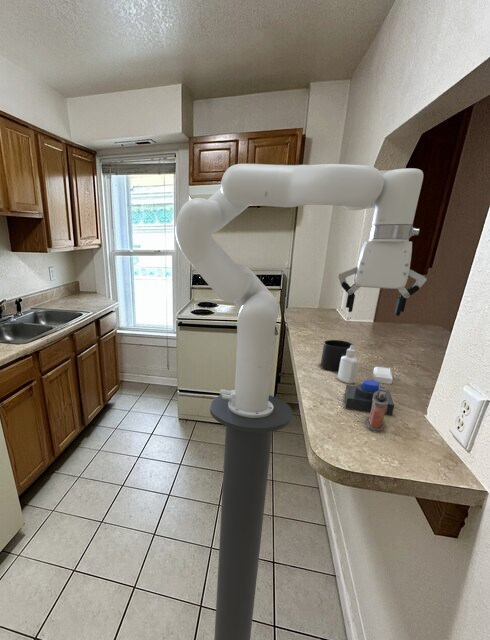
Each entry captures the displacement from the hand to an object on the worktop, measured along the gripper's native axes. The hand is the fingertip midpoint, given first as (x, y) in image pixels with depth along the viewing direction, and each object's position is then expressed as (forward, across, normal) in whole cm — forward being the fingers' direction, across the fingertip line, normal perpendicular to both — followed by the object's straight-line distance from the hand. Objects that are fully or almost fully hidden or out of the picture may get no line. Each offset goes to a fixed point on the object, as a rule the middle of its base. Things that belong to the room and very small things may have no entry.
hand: (372, 312), depth 82 cm
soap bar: (+28, -10, -34) cm, 45 cm away
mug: (+28, +4, -38) cm, 47 cm away
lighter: (+28, -5, +2) cm, 28 cm away
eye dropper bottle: (+28, +1, -27) cm, 39 cm away
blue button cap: (+23, -4, -10) cm, 25 cm away
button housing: (+28, -4, -10) cm, 30 cm away
